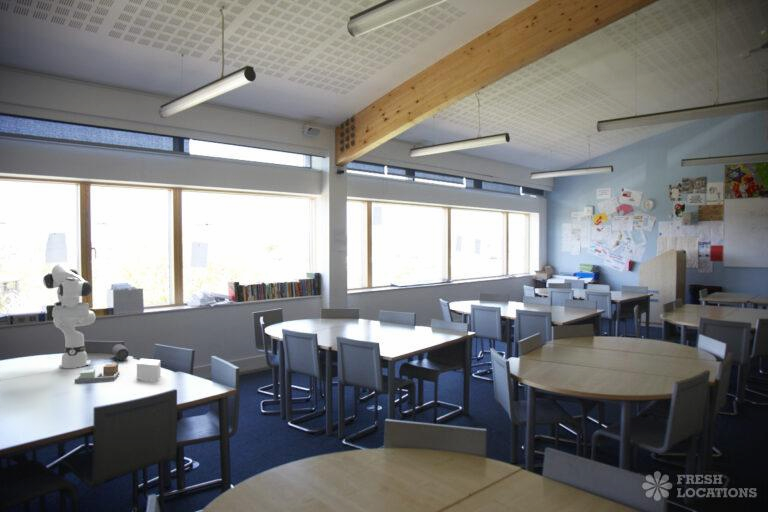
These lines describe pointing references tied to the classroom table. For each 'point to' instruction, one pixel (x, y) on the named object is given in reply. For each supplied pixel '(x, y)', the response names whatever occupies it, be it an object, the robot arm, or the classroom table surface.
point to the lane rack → (96, 378)
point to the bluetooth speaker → (120, 352)
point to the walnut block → (110, 369)
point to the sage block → (87, 374)
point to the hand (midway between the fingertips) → (70, 324)
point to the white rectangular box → (148, 369)
